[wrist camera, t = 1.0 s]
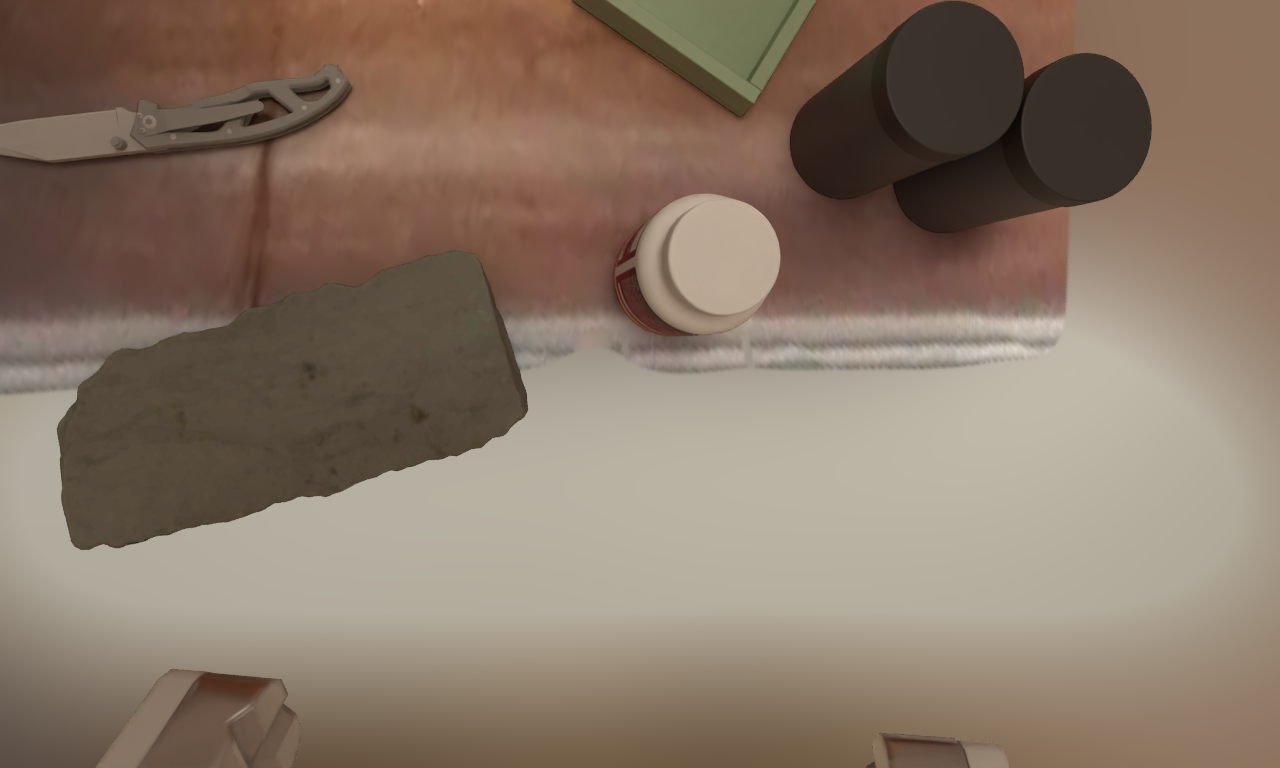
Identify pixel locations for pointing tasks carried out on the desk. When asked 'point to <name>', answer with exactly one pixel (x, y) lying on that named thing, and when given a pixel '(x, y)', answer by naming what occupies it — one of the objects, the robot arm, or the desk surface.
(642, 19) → the tray
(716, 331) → the pill bottle
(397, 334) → the stone slab
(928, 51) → the grey canister
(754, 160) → the desk surface
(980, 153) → the grey canister
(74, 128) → the knife
